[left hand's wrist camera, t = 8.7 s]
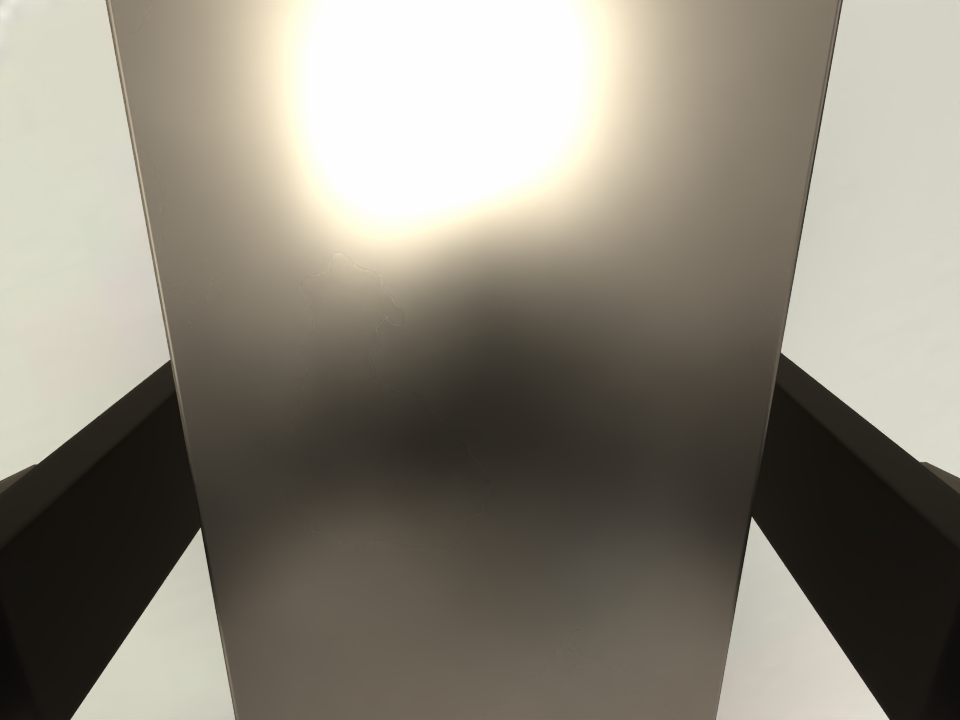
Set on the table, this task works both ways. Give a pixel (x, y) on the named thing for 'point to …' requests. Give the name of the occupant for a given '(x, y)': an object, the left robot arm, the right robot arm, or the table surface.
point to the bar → (474, 334)
